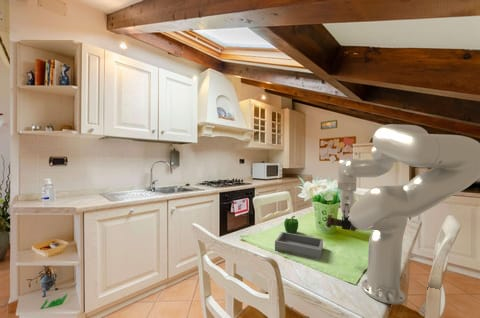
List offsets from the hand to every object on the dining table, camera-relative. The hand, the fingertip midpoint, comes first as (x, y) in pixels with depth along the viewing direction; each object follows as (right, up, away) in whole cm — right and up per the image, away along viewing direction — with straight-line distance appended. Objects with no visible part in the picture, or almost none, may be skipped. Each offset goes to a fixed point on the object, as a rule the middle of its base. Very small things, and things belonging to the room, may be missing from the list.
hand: (345, 227), depth 98 cm
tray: (-18, -14, +11) cm, 25 cm away
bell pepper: (-17, -14, +33) cm, 39 cm away
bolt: (0, -1, 0) cm, 1 cm away
